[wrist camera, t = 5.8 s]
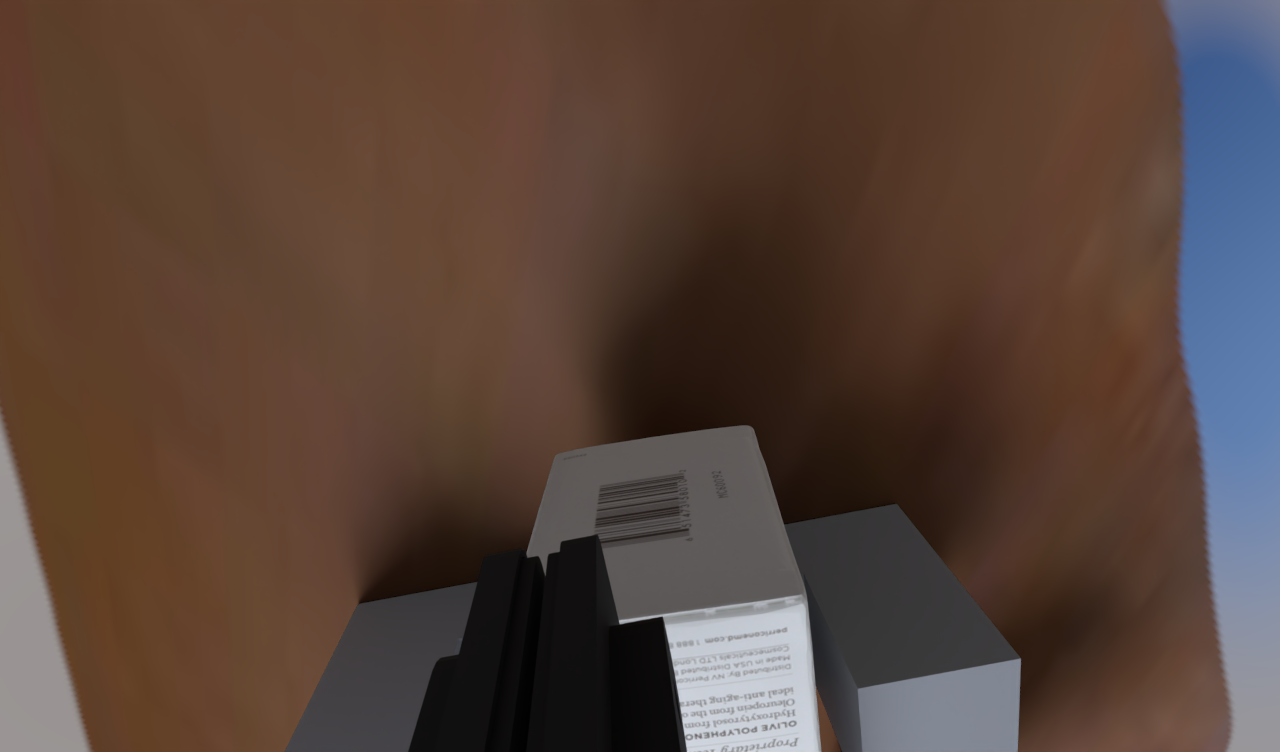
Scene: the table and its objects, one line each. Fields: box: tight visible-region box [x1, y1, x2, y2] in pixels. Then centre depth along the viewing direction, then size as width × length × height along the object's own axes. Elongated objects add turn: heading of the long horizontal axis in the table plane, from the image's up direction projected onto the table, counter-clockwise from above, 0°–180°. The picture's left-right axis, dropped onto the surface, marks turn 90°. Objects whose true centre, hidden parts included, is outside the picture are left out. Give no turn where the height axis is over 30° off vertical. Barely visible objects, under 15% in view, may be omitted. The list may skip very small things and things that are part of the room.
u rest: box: [285, 504, 1021, 752], centre depth 23 cm, size 5×21×8 cm, turn 100°
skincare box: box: [526, 425, 821, 752], centre depth 20 cm, size 8×7×16 cm
